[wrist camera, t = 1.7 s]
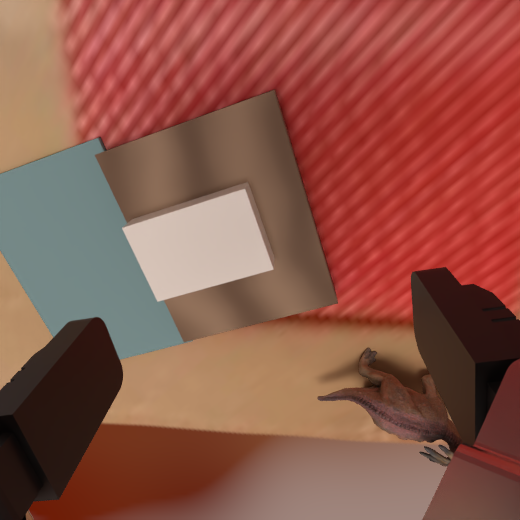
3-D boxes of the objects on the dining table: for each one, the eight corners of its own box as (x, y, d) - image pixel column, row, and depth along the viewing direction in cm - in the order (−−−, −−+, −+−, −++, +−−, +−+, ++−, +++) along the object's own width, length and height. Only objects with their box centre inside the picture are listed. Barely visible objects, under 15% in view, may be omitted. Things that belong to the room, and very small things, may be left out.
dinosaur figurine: (485, 369, 36) (546, 459, 27) (457, 419, 38) (504, 516, 30) (332, 333, 35) (345, 413, 27) (313, 385, 38) (319, 474, 29)
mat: (100, 137, 30) (97, 137, 30) (193, 338, 36) (192, 341, 36) (-35, 187, 32) (-38, 188, 32) (76, 368, 39) (74, 371, 38)
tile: (247, 181, 28) (244, 188, 27) (274, 258, 31) (273, 269, 29) (132, 219, 30) (121, 228, 28) (165, 289, 32) (157, 301, 30)
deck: (275, 89, 28) (273, 90, 26) (335, 291, 34) (337, 303, 32) (106, 150, 30) (94, 155, 28) (189, 329, 36) (183, 342, 34)
